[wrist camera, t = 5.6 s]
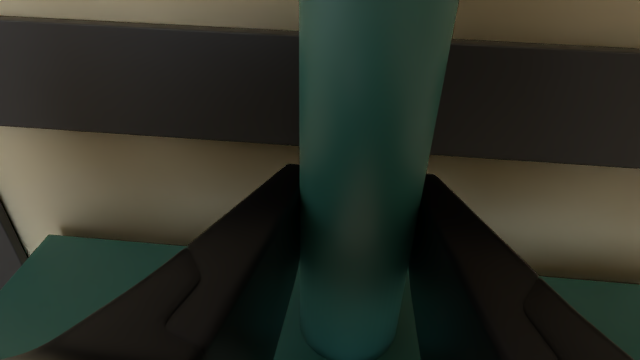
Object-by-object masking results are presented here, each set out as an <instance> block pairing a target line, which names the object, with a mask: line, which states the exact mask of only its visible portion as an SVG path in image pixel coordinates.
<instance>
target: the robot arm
mask: <svg viewBox="0 0 640 360" xmlns="http://www.w3.org/2000/svg"><path fill="white" fill-rule="evenodd" d="M299 261H300V165H298V164H287V165H286V166H284V167H283V168H282V169H281V170H280V171H278V172H277V173H276V174H275V175H273V176H272V177H271V178H270V179H268V180H267V181H266V182H265V183H264V184H262V185H261V186H260V187H259V188H257V189H256V190H255V191H254V192H252V193H251V194H250V195H249V196H248V197H246V198H245V199H244V200H243V201H241V202H240V203H239V204H238V205H236V206H235V207H234V208H233V209H232V210H230V211H229V212H228V213H227V214H225V215H224V216H223V217H222V218H220V219H219V220H218V221H217V222H216V223H214V224H213V225H212V226H211V227H209V228H208V229H207V230H206V231H204V232H203V233H202V234H201V235H200V236H198V237H197V238H196V239H195V240H193V241H192V242H191V243H190V244H188V248H187V247H185V248H183V249H182V250H181V251H180V252H178V253H177V254H176V255H175V256H173V257H172V258H171V259H170V260H168V261H167V262H166V263H164V264H163V265H162V266H161V267H159V268H158V269H157V270H155V271H154V272H153V273H151V274H150V275H149V276H147V277H146V278H144V279H143V280H141V281H140V282H139V283H137V284H136V285H134V286H133V287H131V288H130V289H128V290H127V291H126V292H124V293H123V294H121V295H120V296H118V297H117V298H115V299H113V300H112V301H110V302H109V303H107V304H106V305H104V306H103V307H101V308H100V309H98V310H97V311H95V312H94V313H92V314H91V315H89V316H88V317H86V318H85V319H83V320H82V321H80V322H79V323H77V324H76V325H74V326H73V327H71V328H70V329H68V330H67V331H65V332H64V333H62V334H61V335H59V336H57V337H56V338H54V339H52V340H51V341H49V342H47V343H45V344H43V345H41V346H39V347H37V348H35V349H33V350H31V351H28V352H26V353H23V354H20V355H16V356H13V357H10V358H5V359H1V360H273V359H274V356H275V352H276V348H277V345H278V341H279V338H280V334H281V330H282V327H283V323H284V319H285V316H286V312H287V309H288V305H289V301H290V298H291V294H292V290H293V287H294V283H295V279H296V275H297V271H298V267H299ZM408 268H409V283H410V291H411V298H412V304H413V311H414V317H415V324H416V331H417V337H418V344H419V351H420V357H421V360H634V359H633V358H632V357H631V356H630V355H628V354H627V353H626V352H625V351H623V350H622V349H621V348H620V347H619V346H617V345H616V344H615V343H614V342H612V341H611V340H610V339H609V338H608V337H606V336H605V335H604V334H603V333H602V332H601V331H599V330H598V329H597V328H596V327H595V326H594V325H592V324H591V323H590V322H589V321H588V320H586V319H585V318H584V317H583V316H582V315H581V314H579V313H578V312H577V311H576V310H575V309H574V308H573V307H572V306H571V305H570V304H569V303H568V302H566V301H565V300H564V299H563V298H562V297H561V296H560V295H559V294H558V293H557V292H556V291H555V290H554V289H553V288H552V287H550V286H549V285H548V284H547V283H546V282H545V281H544V280H543V279H542V278H538V277H539V276H538V274H537V273H536V272H535V271H534V270H533V269H532V268H531V267H530V266H529V265H528V264H527V263H526V262H525V261H524V260H522V259H521V258H520V257H519V256H518V255H517V254H516V253H515V252H514V251H513V250H512V249H511V248H510V247H509V246H508V245H507V244H506V243H505V242H504V241H503V240H502V239H501V238H500V237H499V236H498V235H497V234H496V233H495V232H494V231H493V230H492V229H491V228H490V227H489V226H488V225H486V224H485V223H484V222H483V221H482V220H481V219H480V218H479V217H478V216H477V215H476V214H475V213H474V212H473V211H472V210H471V209H470V208H469V207H468V206H467V205H466V204H465V203H464V202H463V201H462V200H461V199H460V198H459V197H458V196H457V195H456V194H455V193H454V192H453V191H452V190H450V189H449V188H448V187H447V186H446V185H445V184H444V183H443V182H442V181H441V180H440V179H439V178H438V177H437V176H436V175H433V174H426V176H425V182H424V187H423V192H422V198H421V203H420V208H419V213H418V219H417V224H416V229H415V234H414V240H413V245H412V250H411V255H410V261H409V266H408Z"/></svg>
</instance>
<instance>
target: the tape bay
mask: <svg viewBox="0 0 640 360" xmlns="http://www.w3.org/2000/svg"><path fill="white" fill-rule="evenodd" d="M0 126H11V127H26V128H41V129H56V130H71V131H85V132H100V133H115V134H130V135H145V136H160V137H175V138H190V139H205V140H220V141H235V142H250V143H265V144H279V145H294V146H299V31H283V30H263V29H243V28H224V27H204V26H185V25H165V24H146V23H126V22H106V21H87V20H67V19H48V18H28V17H9V16H0ZM430 155H444V156H459V157H474V158H488V159H503V160H518V161H533V162H548V163H563V164H578V165H593V166H608V167H623V168H638V169H640V49H635V48H615V47H596V46H576V45H557V44H537V43H517V42H498V41H478V40H459V39H452V40H451V45H450V50H449V55H448V61H447V66H446V71H445V76H444V82H443V87H442V92H441V98H440V103H439V108H438V113H437V119H436V124H435V129H434V134H433V140H432V145H431V150H430ZM27 259H28V258H27V256H26V254H25V252H24V250H23V248H22V246H21V244H20V242H19V239H18V237H17V235H16V233H15V231H14V229H13V227H12V225H11V223H10V221H9V219H8V217H7V214H6V212H5V210H4V208H3V206H2V204H1V202H0V290H1V289H2V288H3V286H4V285H5V284H6V283H7V282H8V281H9V280H10V278H11V277H12V276H13V275H14V274H15V273H16V272H17V270H18V269H19V268H20V267H21V266H22V265H23V263H24V262H25V261H26V260H27Z"/></svg>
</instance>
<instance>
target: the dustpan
mask: <svg viewBox="0 0 640 360" xmlns="http://www.w3.org/2000/svg"><path fill="white" fill-rule="evenodd" d="M458 3H459V0H299V149H300V261H299V267H298V271H297V275H296V279H295V283H294V287H293V290H292V294H291V298H290V301H289V305H288V309H287V312H286V316H285V319H284V323H283V327H282V330H281V334H280V338H279V341H278V345H277V348H276V352H275V356H274V359H273V360H421V357H420V351H419V344H418V337H417V331H416V324H415V317H414V311H413V304H412V298H411V291H410V283H409V268H408V266H409V261H410V255H411V250H412V245H413V240H414V234H415V229H416V224H417V219H418V213H419V208H420V203H421V198H422V192H423V187H424V182H425V176H426V171H427V166H428V161H429V155H430V150H431V145H432V140H433V134H434V129H435V124H436V119H437V113H438V108H439V103H440V98H441V92H442V87H443V82H444V76H445V71H446V66H447V61H448V55H449V50H450V45H451V40H452V34H453V29H454V24H455V19H456V13H457V8H458ZM185 247H187V248H188V246H178V245H167V244H155V243H143V242H131V241H119V240H108V239H96V238H84V237H72V236H60V235H48V236H47V237H46V238H45V239H44V241H43V242H42V243H41V244H40V245H39V246H38V247H37V249H36V250H35V251H34V252H33V253H32V254H31V255H30V257H29V258H28V259H27V260H26V261H25V262H24V263H23V265H22V266H21V267H20V268H19V269H18V270H17V272H16V273H15V274H14V275H13V276H12V277H11V278H10V280H9V281H8V282H7V283H6V284H5V285H4V286H3V288H2V289H1V290H0V360H1V359H5V358H10V357H13V356H16V355H20V354H23V353H26V352H28V351H31V350H33V349H35V348H37V347H39V346H41V345H43V344H45V343H47V342H49V341H51V340H52V339H54V338H56V337H57V336H59V335H61V334H62V333H64V332H65V331H67V330H68V329H70V328H71V327H73V326H74V325H76V324H77V323H79V322H80V321H82V320H83V319H85V318H86V317H88V316H89V315H91V314H92V313H94V312H95V311H97V310H98V309H100V308H101V307H103V306H104V305H106V304H107V303H109V302H110V301H112V300H113V299H115V298H117V297H118V296H120V295H121V294H123V293H124V292H126V291H127V290H128V289H130V288H131V287H133V286H134V285H136V284H137V283H139V282H140V281H141V280H143V279H144V278H146V277H147V276H149V275H150V274H151V273H153V272H154V271H155V270H157V269H158V268H159V267H161V266H162V265H163V264H164V263H166V262H167V261H168V260H170V259H171V258H172V257H173V256H175V255H176V254H177V253H178V252H180V251H181V250H182V249H183V248H185ZM538 278H542V279H543V280H544V281H545V282H546V283H547V284H548V285H549V286H550V287H552V288H553V289H554V290H555V291H556V292H557V293H558V294H559V295H560V296H561V297H562V298H563V299H564V300H565V301H566V302H568V303H569V304H570V305H571V306H572V307H573V308H574V309H575V310H576V311H577V312H578V313H579V314H581V315H582V316H583V317H584V318H585V319H586V320H588V321H589V322H590V323H591V324H592V325H594V326H595V327H596V328H597V329H598V330H599V331H601V332H602V333H603V334H604V335H605V336H606V337H608V338H609V339H610V340H611V341H612V342H614V343H615V344H616V345H617V346H619V347H620V348H621V349H622V350H623V351H625V352H626V353H627V354H628V355H630V356H631V357H632V358H633V359H634V360H640V285H638V284H627V283H615V282H603V281H591V280H579V279H568V278H556V277H544V276H539V277H538Z"/></svg>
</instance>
